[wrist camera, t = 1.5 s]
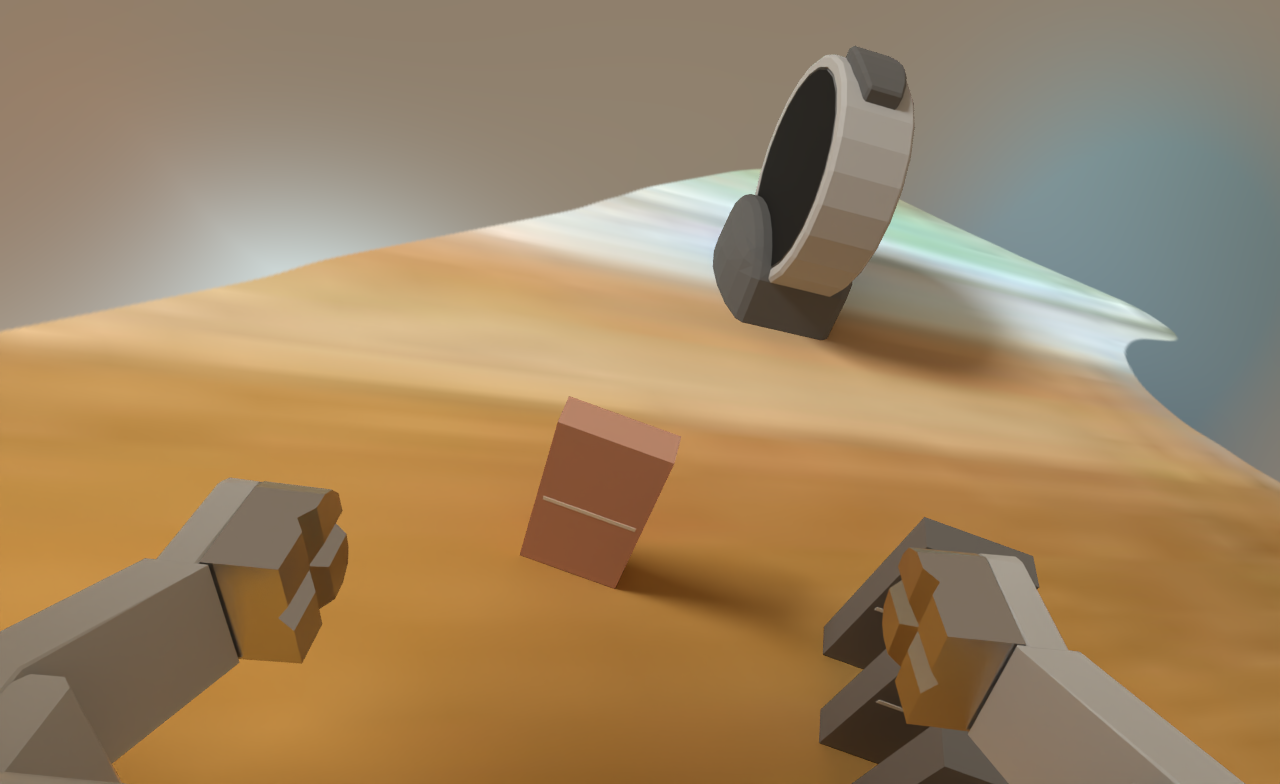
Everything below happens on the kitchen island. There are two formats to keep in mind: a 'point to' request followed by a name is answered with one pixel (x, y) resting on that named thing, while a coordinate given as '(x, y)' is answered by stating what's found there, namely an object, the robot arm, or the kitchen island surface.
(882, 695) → the domino
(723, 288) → the alarm clock
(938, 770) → the domino
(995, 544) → the domino
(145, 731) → the robot arm
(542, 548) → the domino
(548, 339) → the kitchen island surface
